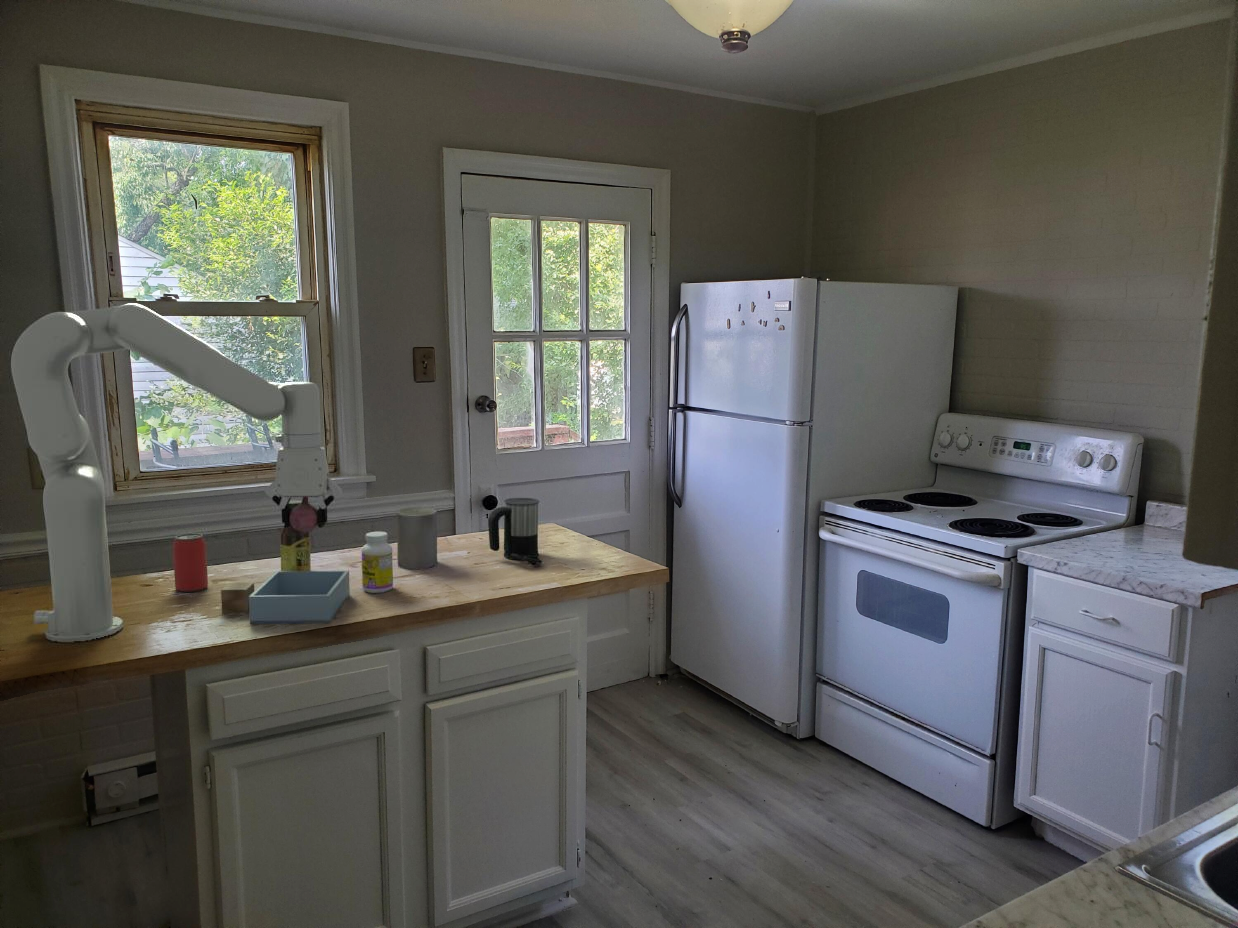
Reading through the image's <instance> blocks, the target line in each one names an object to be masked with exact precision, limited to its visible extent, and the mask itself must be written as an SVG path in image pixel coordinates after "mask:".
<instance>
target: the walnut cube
mask: <svg viewBox="0 0 1238 928" xmlns="http://www.w3.org/2000/svg"><path fill="white" fill-rule="evenodd" d="M254 591H255V582H228V583H227V584H226V585H225V586H224V587H222V588H221V589H220V599H221V601H220V602H221V613H222V614H248V613H249V596H250V595H251V594H252V593H253V592H254Z"/></svg>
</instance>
